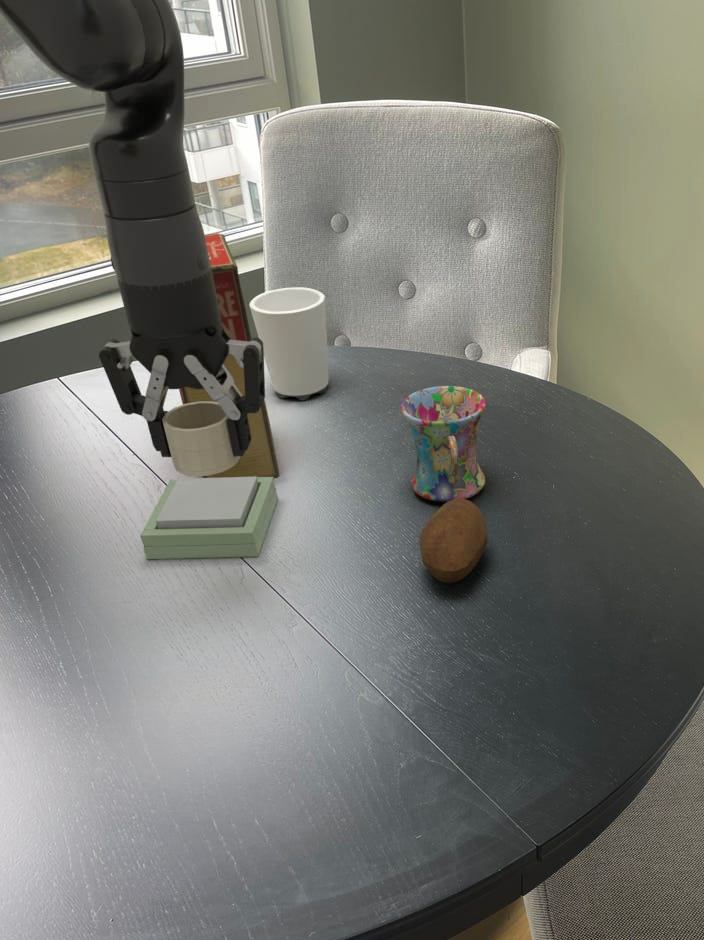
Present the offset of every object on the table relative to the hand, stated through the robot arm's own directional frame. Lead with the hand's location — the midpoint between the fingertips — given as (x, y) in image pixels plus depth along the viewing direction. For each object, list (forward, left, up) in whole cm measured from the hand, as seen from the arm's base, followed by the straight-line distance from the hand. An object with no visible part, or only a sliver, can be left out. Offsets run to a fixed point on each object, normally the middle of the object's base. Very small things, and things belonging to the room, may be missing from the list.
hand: (204, 452), depth 89 cm
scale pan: (-5, +11, -13) cm, 18 cm away
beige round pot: (0, 0, -1) cm, 1 cm away
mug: (+21, +17, -15) cm, 31 cm away
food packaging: (-6, +27, -15) cm, 32 cm away
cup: (-1, +47, -15) cm, 50 cm away
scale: (-5, +11, -15) cm, 20 cm away
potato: (+22, +2, -15) cm, 27 cm away
